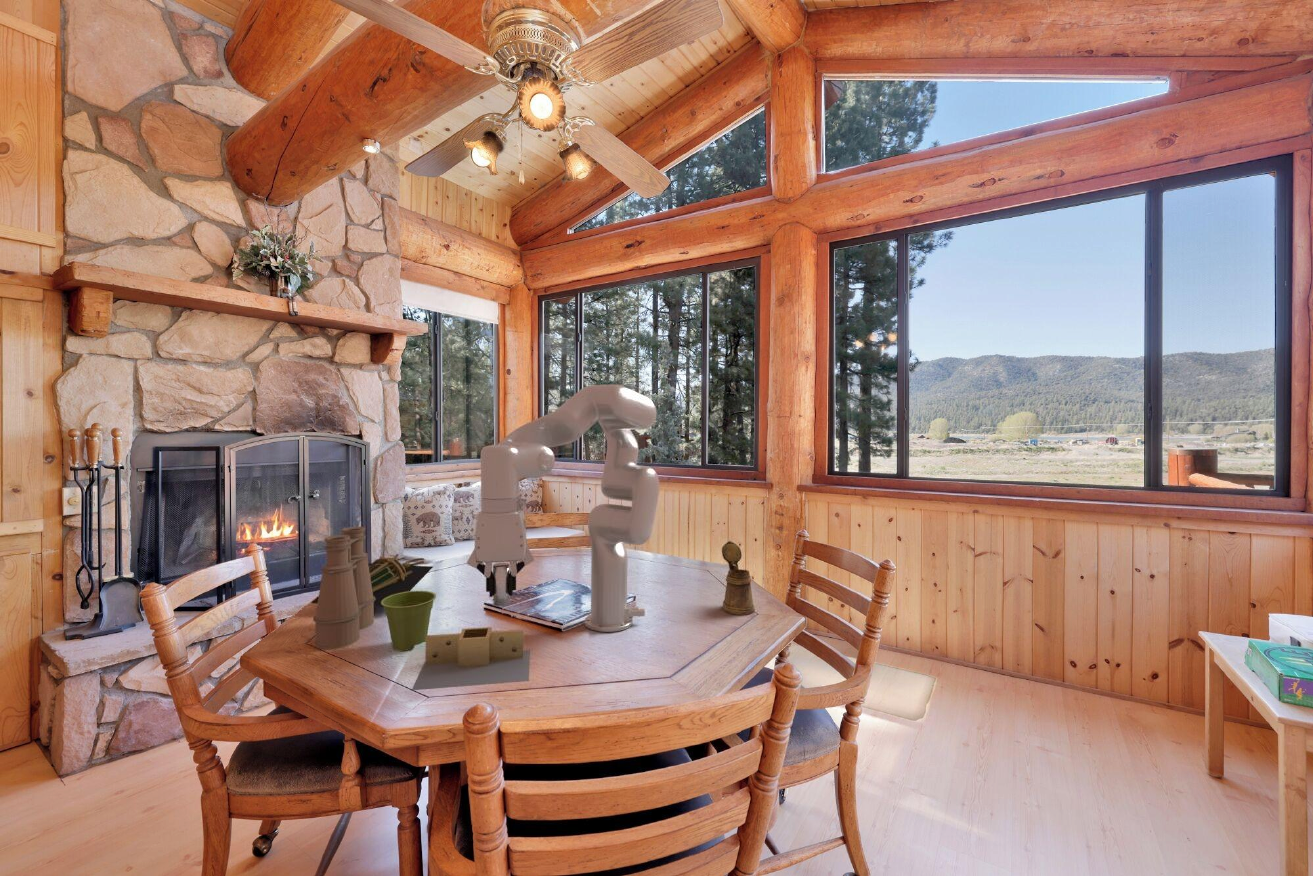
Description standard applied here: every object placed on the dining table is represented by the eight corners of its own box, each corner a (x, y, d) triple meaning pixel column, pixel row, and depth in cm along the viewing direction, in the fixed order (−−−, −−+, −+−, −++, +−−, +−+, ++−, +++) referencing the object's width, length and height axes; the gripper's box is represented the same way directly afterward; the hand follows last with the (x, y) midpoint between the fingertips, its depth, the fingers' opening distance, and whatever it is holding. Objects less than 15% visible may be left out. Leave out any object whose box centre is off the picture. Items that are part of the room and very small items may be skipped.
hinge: (523, 651, 125) (523, 625, 125) (522, 663, 119) (523, 635, 119) (428, 657, 121) (428, 630, 121) (422, 670, 115) (422, 641, 115)
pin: (509, 600, 116) (509, 562, 115) (509, 605, 112) (508, 566, 112) (494, 601, 115) (493, 563, 114) (492, 606, 112) (492, 567, 111)
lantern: (312, 626, 152) (371, 569, 180) (395, 636, 151) (441, 577, 180) (308, 583, 148) (369, 531, 176) (393, 593, 147) (440, 540, 176)
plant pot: (396, 635, 136) (396, 589, 136) (444, 636, 136) (444, 591, 136) (370, 655, 124) (370, 606, 124) (422, 656, 124) (422, 607, 124)
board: (530, 655, 126) (530, 650, 126) (528, 686, 111) (528, 680, 111) (427, 662, 121) (427, 657, 121) (411, 696, 106) (411, 690, 106)
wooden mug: (742, 599, 168) (743, 540, 168) (759, 614, 155) (760, 550, 154) (714, 600, 166) (715, 541, 166) (728, 616, 153) (729, 551, 153)
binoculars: (352, 648, 128) (352, 541, 127) (305, 650, 126) (305, 542, 126) (380, 617, 148) (380, 524, 148) (340, 618, 147) (340, 525, 146)
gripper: (541, 501, 118) (542, 586, 119) (460, 503, 115) (461, 591, 116) (541, 507, 111) (542, 597, 112) (455, 510, 107) (456, 603, 108)
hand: (501, 593), depth 114 cm, fingers closed on pin, 3 cm apart
